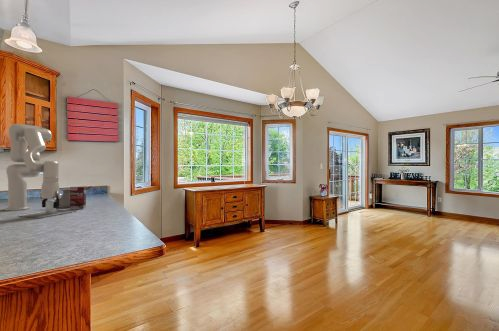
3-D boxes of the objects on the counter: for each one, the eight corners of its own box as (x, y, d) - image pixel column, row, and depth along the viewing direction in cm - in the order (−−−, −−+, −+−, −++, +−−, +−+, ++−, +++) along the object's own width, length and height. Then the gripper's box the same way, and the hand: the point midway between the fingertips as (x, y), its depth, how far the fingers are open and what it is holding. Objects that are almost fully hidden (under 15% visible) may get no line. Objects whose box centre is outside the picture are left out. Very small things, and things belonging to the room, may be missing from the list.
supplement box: (69, 209, 170) (69, 187, 171) (72, 208, 175) (72, 186, 175) (83, 209, 173) (83, 186, 173) (86, 208, 177) (86, 186, 178)
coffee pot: (56, 209, 173) (57, 187, 173) (58, 206, 183) (58, 186, 183) (92, 206, 185) (92, 186, 185) (92, 204, 194) (92, 185, 194)
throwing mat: (18, 216, 146) (18, 215, 146) (56, 210, 168) (56, 209, 168) (40, 218, 142) (40, 217, 142) (76, 211, 163) (76, 210, 163)
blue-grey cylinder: (43, 213, 152) (43, 201, 152) (52, 212, 157) (52, 200, 157) (49, 214, 151) (49, 201, 151) (57, 212, 156) (57, 200, 156)
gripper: (34, 180, 153) (34, 207, 153) (54, 181, 148) (54, 209, 148) (47, 179, 160) (46, 205, 160) (67, 180, 156) (66, 207, 155)
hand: (50, 207), depth 154 cm, fingers open, 9 cm apart
